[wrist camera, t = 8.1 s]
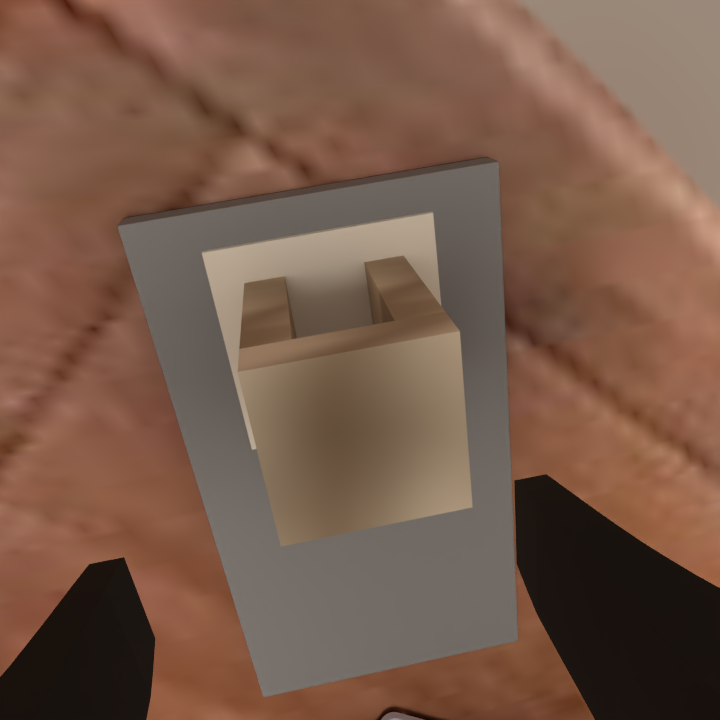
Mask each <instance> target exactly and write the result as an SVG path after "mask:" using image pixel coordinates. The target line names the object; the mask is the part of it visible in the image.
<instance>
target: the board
mask: <svg viewBox="0 0 720 720" xmlns="http://www.w3.org/2000/svg"><path fill="white" fill-rule="evenodd" d="M118 230H119V233H120V236H121V239H122V243H123V246H124V249H125V252H126V255H127V259H128V262H129V265H130V268H131V272H132V275H133V278H134V281H135V284H136V288H137V291H138V294H139V297H140V301H141V304H142V307H143V310H144V314H145V317H146V320H147V323H148V326H149V330H150V333H151V336H152V339H153V343H154V346H155V349H156V352H157V355H158V359H159V362H160V365H161V368H162V372H163V375H164V378H165V381H166V384H167V388H168V391H169V394H170V397H171V401H172V404H173V407H174V410H175V414H176V417H177V420H178V423H179V426H180V430H181V433H182V436H183V439H184V443H185V446H186V449H187V452H188V455H189V459H190V462H191V465H192V468H193V472H194V475H195V478H196V481H197V484H198V488H199V491H200V494H201V497H202V501H203V504H204V507H205V510H206V514H207V517H208V520H209V523H210V526H211V530H212V533H213V536H214V539H215V543H216V546H217V549H218V552H219V555H220V559H221V562H222V565H223V568H224V572H225V575H226V578H227V581H228V584H229V588H230V591H231V594H232V597H233V601H234V604H235V607H236V610H237V613H238V617H239V620H240V623H241V626H242V630H243V633H244V636H245V639H246V643H247V646H248V649H249V652H250V655H251V659H252V662H253V665H254V668H255V672H256V675H257V678H258V681H259V684H260V688H261V691H262V694H263V697H267V696H272V695H276V694H281V693H285V692H290V691H294V690H299V689H303V688H308V687H312V686H317V685H322V684H326V683H331V682H335V681H340V680H344V679H349V678H353V677H358V676H362V675H367V674H371V673H376V672H380V671H385V670H389V669H394V668H398V667H403V666H407V665H412V664H416V663H421V662H425V661H430V660H434V659H439V658H443V657H448V656H452V655H457V654H461V653H466V652H470V651H475V650H479V649H484V648H488V647H493V646H497V645H502V644H506V643H511V642H515V641H518V627H517V602H516V578H515V553H514V529H513V504H512V480H511V455H510V431H509V406H508V382H507V357H506V333H505V308H504V283H503V259H502V234H501V210H500V185H499V162H498V161H496V160H493V159H491V158H488V157H485V158H480V159H474V160H468V161H462V162H456V163H450V164H444V165H438V166H432V167H426V168H420V169H414V170H408V171H402V172H396V173H390V174H384V175H379V176H373V177H367V178H361V179H355V180H349V181H343V182H337V183H331V184H325V185H319V186H313V187H307V188H301V189H295V190H289V191H283V192H278V193H272V194H266V195H260V196H254V197H248V198H242V199H236V200H230V201H224V202H218V203H212V204H206V205H200V206H194V207H188V208H182V209H176V210H171V211H165V212H159V213H153V214H147V215H141V216H135V217H129V218H124V219H123V220H122V221H121V223H120V224H119V225H118ZM403 255H404V257H405V258H406V259H407V261H408V262H409V264H410V265H411V266H412V268H413V269H414V270H415V272H416V273H417V274H418V276H419V277H420V278H421V280H422V281H423V282H424V284H425V285H426V286H427V288H428V289H429V290H430V292H431V293H432V294H433V296H434V297H435V298H436V300H437V301H438V302H439V304H440V305H441V306H442V308H443V309H444V311H445V312H446V313H447V315H448V316H449V317H450V319H451V320H452V321H453V323H454V324H455V325H456V327H457V328H458V329H459V331H460V340H461V354H462V368H463V382H464V395H465V409H466V423H467V437H468V451H469V465H470V478H471V492H472V506H473V507H472V508H467V509H463V510H458V511H453V512H448V513H443V514H438V515H433V516H428V517H423V518H418V519H414V520H409V521H404V522H399V523H394V524H389V525H384V526H379V527H374V528H369V529H364V530H360V531H355V532H350V533H345V534H340V535H335V536H330V537H325V538H320V539H315V540H311V541H306V542H301V543H296V544H291V545H286V546H281V545H280V541H279V537H278V533H277V529H276V525H275V521H274V517H273V513H272V509H271V505H270V501H269V497H268V493H267V489H266V485H265V481H264V477H263V473H262V469H261V465H260V461H259V457H258V453H257V449H256V445H255V441H254V437H253V433H252V429H251V425H250V420H249V416H248V412H247V408H246V404H245V400H244V396H243V392H242V388H241V384H240V380H239V376H238V359H239V346H240V333H241V320H242V307H243V294H244V283H249V282H254V281H260V280H266V279H272V278H277V277H283V276H285V281H286V286H287V291H288V296H289V301H290V306H291V311H292V316H293V321H294V326H295V331H296V337H297V338H302V337H308V336H313V335H319V334H324V333H330V332H335V331H341V330H346V329H352V328H358V327H363V326H369V325H373V323H372V315H371V308H370V301H369V293H368V286H367V279H366V272H365V264H364V262H369V261H375V260H380V259H386V258H392V257H398V256H403Z"/></svg>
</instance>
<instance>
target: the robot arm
mask: <svg viewBox="0 0 720 720" xmlns="http://www.w3.org/2000/svg"><path fill="white" fill-rule="evenodd" d="M515 514H516V550H517V565H518V568H519V570H520V573H521V576H522V578H523V581H524V583H525V586H526V588H527V591H528V593H529V596H530V598H531V600H532V603H533V605H534V608H535V610H536V612H537V615H538V616H539V618H540V620H541V622H542V624H543V626H544V628H545V630H546V631H547V633H548V635H549V637H550V639H551V641H552V642H553V644H554V646H555V648H556V650H557V652H558V653H559V655H560V657H561V659H562V661H563V662H564V664H565V666H566V668H567V670H568V671H569V673H570V675H571V677H572V679H573V680H574V682H575V684H576V686H577V688H578V689H579V691H580V693H581V695H582V697H583V699H584V700H585V702H586V704H587V706H588V708H589V709H590V711H591V713H592V715H593V717H594V718H595V720H720V588H719V587H717V586H715V585H713V584H711V583H709V582H708V581H706V580H704V579H702V578H700V577H699V576H697V575H695V574H693V573H692V572H690V571H688V570H687V569H685V568H683V567H682V566H680V565H678V564H677V563H675V562H673V561H672V560H670V559H668V558H667V557H665V556H663V555H662V554H660V553H658V552H657V551H655V550H654V549H652V548H651V547H649V546H648V545H646V544H644V543H643V542H641V541H640V540H638V539H637V538H635V537H634V536H632V535H631V534H629V533H628V532H626V531H625V530H623V529H622V528H620V527H619V526H617V525H616V524H615V523H613V522H612V521H610V520H609V519H607V518H606V517H605V516H603V515H602V514H600V513H599V512H598V511H596V510H595V509H593V508H592V507H591V506H589V505H588V504H586V503H585V502H584V501H582V500H581V499H580V498H578V497H577V496H575V495H574V494H573V493H571V492H570V491H569V490H567V489H566V488H564V487H563V486H562V485H560V484H559V483H558V482H556V481H555V480H553V479H552V478H551V477H549V476H548V475H541V476H536V477H530V478H525V479H520V480H515ZM154 648H155V637H154V634H153V632H152V629H151V626H150V624H149V621H148V619H147V616H146V613H145V611H144V608H143V606H142V603H141V600H140V598H139V595H138V593H137V590H136V587H135V585H134V582H133V580H132V577H131V574H130V572H129V569H128V567H127V564H126V561H125V559H124V558H119V559H114V560H108V561H103V562H98V563H93V564H89V565H88V567H87V568H86V569H85V570H84V572H83V573H82V574H81V575H80V577H79V578H78V579H77V581H76V582H75V583H74V584H73V586H72V587H71V588H70V590H69V591H68V592H67V594H66V595H65V596H64V598H63V599H62V600H61V601H60V603H59V604H58V605H57V607H56V608H55V609H54V611H53V612H52V613H51V614H50V616H49V617H48V618H47V620H46V621H45V622H44V623H43V625H42V626H41V627H40V629H39V630H38V631H37V632H36V634H35V635H34V636H33V638H32V639H31V640H30V641H29V643H28V644H27V645H26V646H25V648H24V649H23V650H22V651H21V653H20V654H19V655H18V656H17V658H16V659H15V660H14V661H13V663H12V664H11V665H10V666H9V668H8V669H7V670H6V671H5V672H4V673H3V675H2V676H1V677H0V720H146V718H147V713H148V708H149V702H150V697H151V687H152V676H153V663H154ZM381 720H424V719H420V718H417V717H413V716H409V715H405V714H402V713H398V712H390V713H388V714H386V715H385V716H384V717H383V718H382V719H381Z"/></svg>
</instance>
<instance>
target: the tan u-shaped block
mask: <svg viewBox="0 0 720 720" xmlns="http://www.w3.org/2000/svg"><path fill="white" fill-rule="evenodd" d="M364 264H365V272H366V279H367V286H368V293H369V301H370V308H371V315H372V323H373V325H369V326H363V327H358V328H352V329H346V330H341V331H335V332H330V333H324V334H319V335H313V336H308V337H302V338H297V337H296V331H295V326H294V321H293V316H292V311H291V306H290V301H289V296H288V291H287V286H286V281H285V276H283V277H277V278H272V279H266V280H260V281H254V282H249V283H244V294H243V307H242V320H241V333H240V346H239V359H238V376H239V380H240V384H241V388H242V392H243V396H244V400H245V404H246V408H247V412H248V416H249V420H250V425H251V429H252V433H253V437H254V441H255V445H256V449H257V453H258V457H259V461H260V465H261V469H262V473H263V477H264V481H265V485H266V489H267V493H268V497H269V501H270V505H271V509H272V513H273V517H274V521H275V525H276V529H277V533H278V537H279V541H280V545H281V546H286V545H291V544H296V543H301V542H306V541H311V540H315V539H320V538H325V537H330V536H335V535H340V534H345V533H350V532H355V531H360V530H364V529H369V528H374V527H379V526H384V525H389V524H394V523H399V522H404V521H409V520H414V519H418V518H423V517H428V516H433V515H438V514H443V513H448V512H453V511H458V510H463V509H467V508H472V507H473V506H472V492H471V478H470V465H469V451H468V437H467V423H466V409H465V395H464V382H463V368H462V354H461V340H460V331H459V329H458V328H457V327H456V325H455V324H454V323H453V321H452V320H451V319H450V317H449V316H448V315H447V313H446V312H445V311H444V309H443V308H442V306H441V305H440V304H439V302H438V301H437V300H436V298H435V297H434V296H433V294H432V293H431V292H430V290H429V289H428V288H427V286H426V285H425V284H424V282H423V281H422V280H421V278H420V277H419V276H418V274H417V273H416V272H415V270H414V269H413V268H412V266H411V265H410V264H409V262H408V261H407V259H406V258H405V257H404V255H403V256H398V257H392V258H386V259H380V260H375V261H369V262H364Z"/></svg>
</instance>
